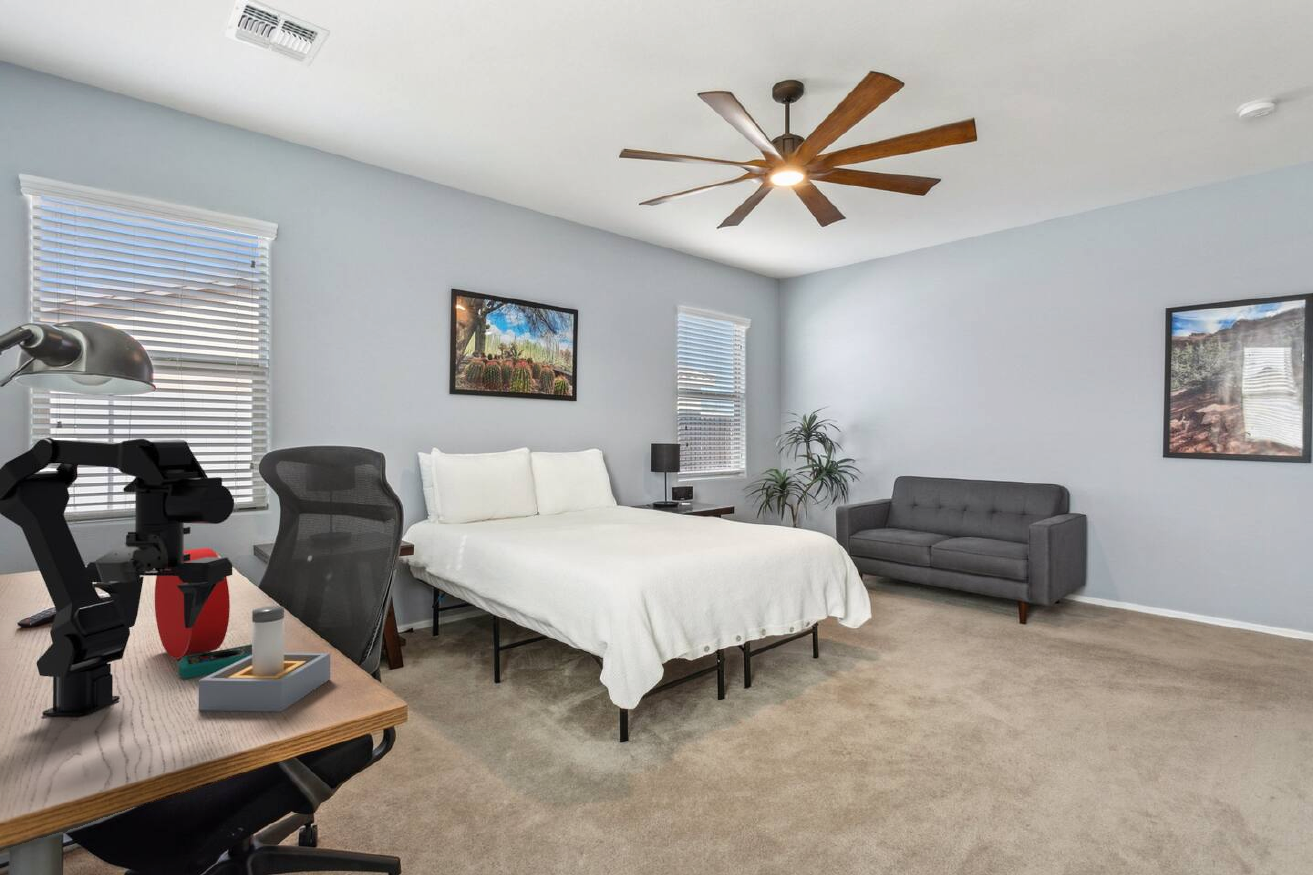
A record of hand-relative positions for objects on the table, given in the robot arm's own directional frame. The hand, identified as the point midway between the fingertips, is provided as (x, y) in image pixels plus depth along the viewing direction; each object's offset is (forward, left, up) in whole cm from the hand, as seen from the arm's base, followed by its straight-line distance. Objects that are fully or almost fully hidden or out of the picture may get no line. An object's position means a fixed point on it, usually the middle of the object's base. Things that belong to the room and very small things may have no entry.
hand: (159, 627), depth 95 cm
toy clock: (-17, +27, -13) cm, 35 cm away
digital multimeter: (-5, +21, -14) cm, 26 cm away
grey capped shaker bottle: (+11, +8, -12) cm, 18 cm away
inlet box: (+11, +8, -13) cm, 19 cm away
